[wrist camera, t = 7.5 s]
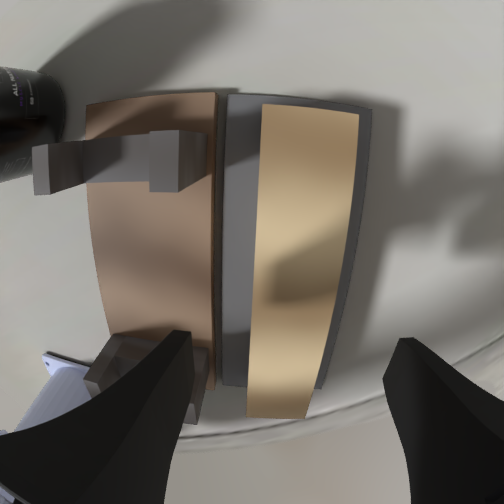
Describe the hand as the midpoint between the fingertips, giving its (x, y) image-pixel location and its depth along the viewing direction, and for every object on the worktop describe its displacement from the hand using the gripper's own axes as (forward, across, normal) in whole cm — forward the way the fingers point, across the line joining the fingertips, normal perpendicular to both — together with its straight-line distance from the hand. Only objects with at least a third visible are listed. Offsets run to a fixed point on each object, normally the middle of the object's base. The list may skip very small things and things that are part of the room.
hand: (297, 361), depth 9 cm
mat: (+7, 0, 0) cm, 7 cm away
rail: (+7, 0, 0) cm, 7 cm away
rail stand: (+7, +7, 0) cm, 10 cm away
